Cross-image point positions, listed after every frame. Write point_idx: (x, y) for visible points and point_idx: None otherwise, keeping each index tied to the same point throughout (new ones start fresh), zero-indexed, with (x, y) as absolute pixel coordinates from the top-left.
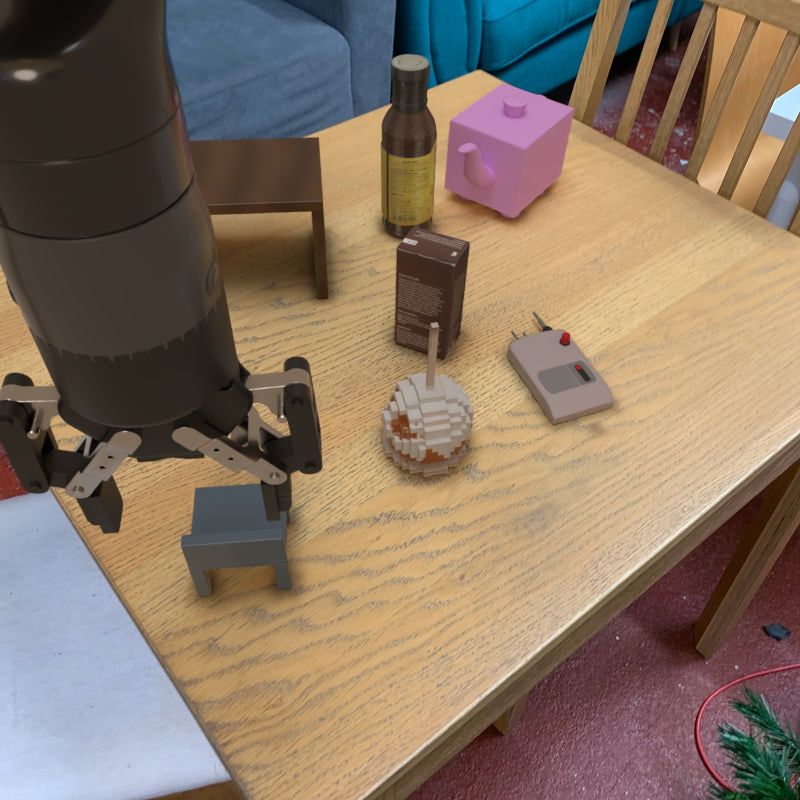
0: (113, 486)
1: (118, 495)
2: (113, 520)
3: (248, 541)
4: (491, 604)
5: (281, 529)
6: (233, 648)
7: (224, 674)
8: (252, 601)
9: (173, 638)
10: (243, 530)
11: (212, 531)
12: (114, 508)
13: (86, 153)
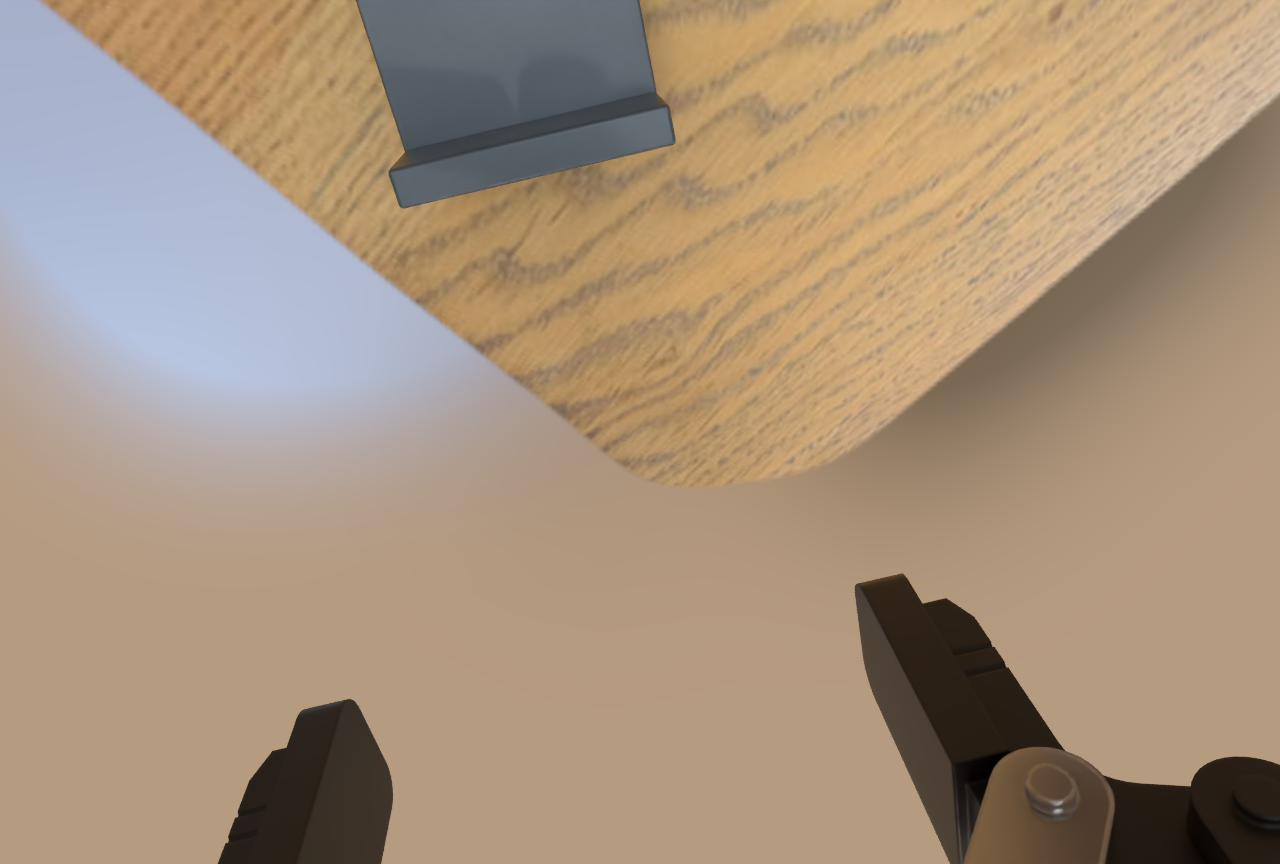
0: (327, 817)
1: (341, 755)
2: (379, 840)
3: (582, 165)
4: (1111, 82)
5: (667, 112)
6: (553, 266)
7: (551, 320)
8: None
9: (419, 263)
10: (558, 130)
11: (438, 61)
12: (360, 813)
13: None
